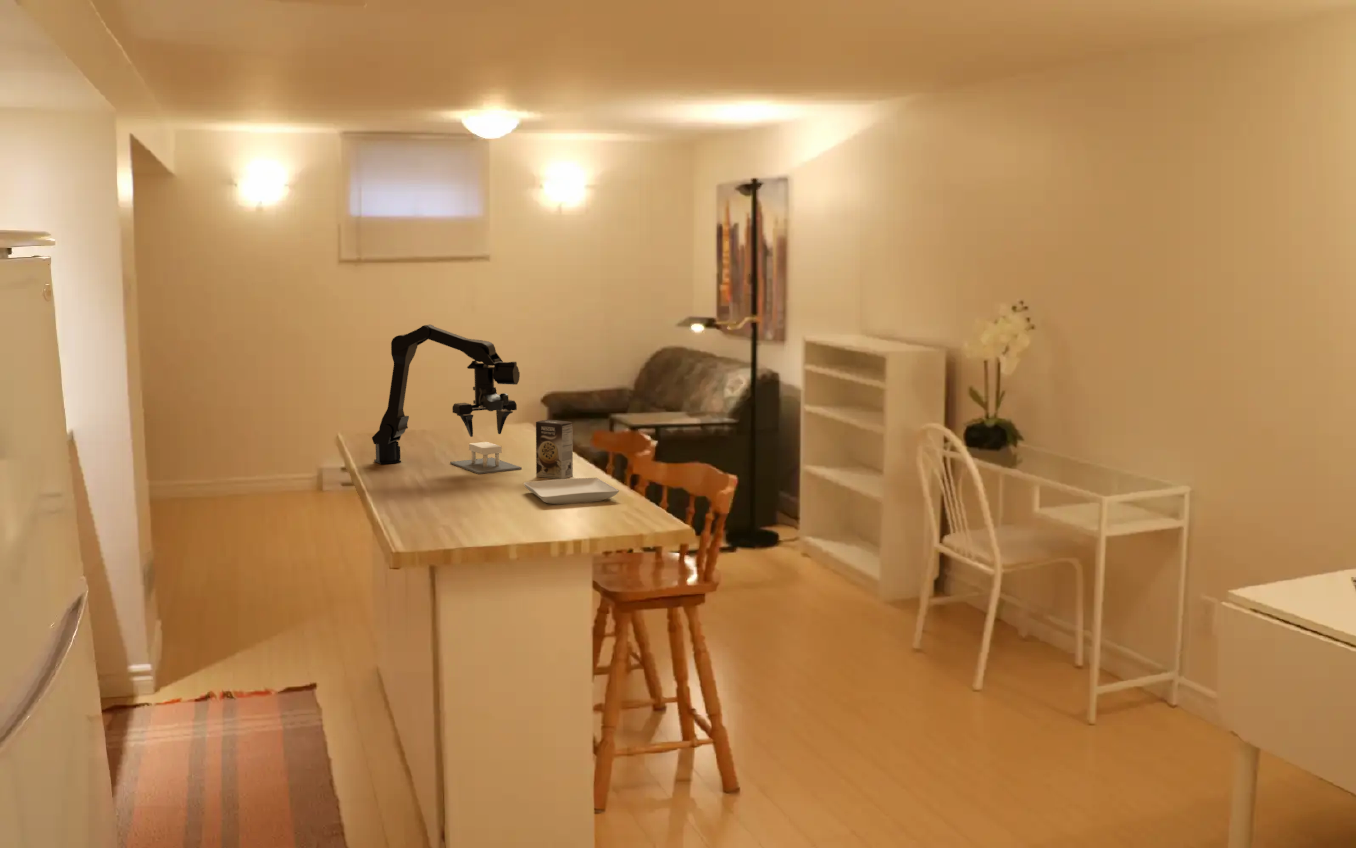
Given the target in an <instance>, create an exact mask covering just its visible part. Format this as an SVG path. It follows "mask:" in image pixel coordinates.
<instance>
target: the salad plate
mask: <svg viewBox="0 0 1356 848" xmlns="http://www.w3.org/2000/svg"><path fill="white" fill-rule="evenodd" d="M523 485H524V487H525V488H526V489H527V490H528V491H530V492H531V493H532V494H534V495H535V496H536V497H538V498H540V500H541V501H543V502H544V503H545V504H546V503H547V504H549V505H563V504H565V505H566V504H567V505H568V504H580V503H592V502H594V503H595V502H601V501H604V500H608V499H611V498H613V497H614V496H616V495H618V493H619V492H620V490H619V489H617V488H616V487H615V486H613V485H611V484H609V483H608V482H606V481H604V480H602V479H601V478H599V477H577V478H576V477H575V478H574V477H573V478H572V477H571V478H565V479H544V480H536V481H535V480H534V481H524V482H523Z"/></svg>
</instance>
